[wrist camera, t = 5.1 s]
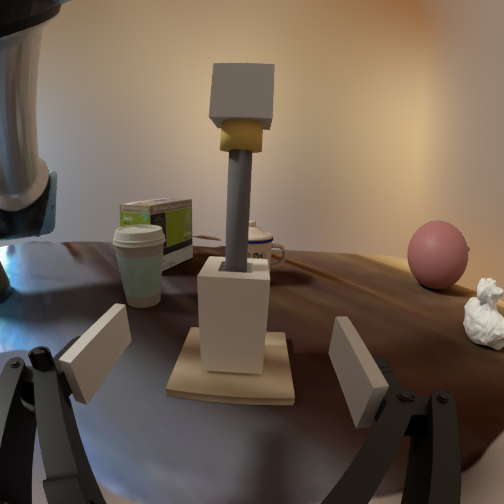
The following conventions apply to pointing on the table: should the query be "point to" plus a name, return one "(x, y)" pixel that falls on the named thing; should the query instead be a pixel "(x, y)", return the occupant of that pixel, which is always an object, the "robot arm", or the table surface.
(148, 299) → the coffee cup
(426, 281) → the balloon
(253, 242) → the teacup with lid
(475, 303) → the bust
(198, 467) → the table surface
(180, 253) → the tea box
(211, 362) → the marker sleeve
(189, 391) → the tan slab base
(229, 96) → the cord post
